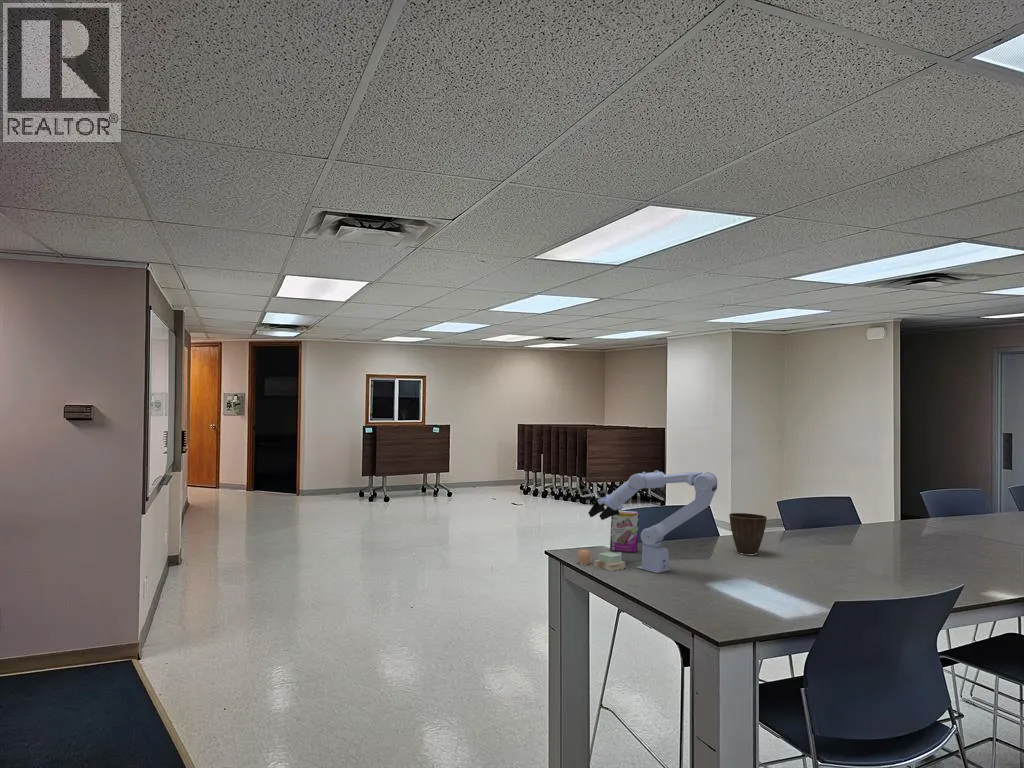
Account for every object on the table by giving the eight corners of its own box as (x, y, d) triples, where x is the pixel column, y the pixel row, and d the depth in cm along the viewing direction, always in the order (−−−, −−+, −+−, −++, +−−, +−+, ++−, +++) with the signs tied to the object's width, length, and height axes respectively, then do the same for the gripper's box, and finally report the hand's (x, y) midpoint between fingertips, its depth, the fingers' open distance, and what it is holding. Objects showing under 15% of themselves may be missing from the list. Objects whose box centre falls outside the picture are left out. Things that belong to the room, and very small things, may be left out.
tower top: (621, 561, 250) (621, 555, 250) (610, 563, 246) (611, 556, 247) (609, 558, 255) (609, 551, 255) (598, 560, 251) (598, 553, 251)
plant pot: (721, 552, 286) (722, 514, 286) (739, 548, 296) (740, 511, 296) (754, 559, 275) (755, 519, 275) (772, 555, 285) (773, 516, 285)
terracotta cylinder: (592, 564, 256) (593, 550, 256) (584, 565, 253) (584, 552, 253) (583, 561, 259) (584, 548, 260) (575, 563, 256) (575, 549, 256)
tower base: (625, 570, 250) (625, 561, 250) (611, 573, 245) (611, 564, 245) (608, 565, 256) (608, 557, 256) (594, 568, 251) (594, 560, 251)
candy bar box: (610, 551, 279) (611, 511, 280) (609, 549, 284) (611, 509, 285) (637, 553, 278) (639, 513, 279) (636, 550, 283) (637, 511, 284)
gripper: (625, 490, 266) (601, 510, 271) (605, 483, 256) (580, 505, 261) (634, 505, 262) (609, 525, 267) (614, 499, 252) (588, 520, 256)
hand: (595, 516), depth 263 cm, fingers open, 7 cm apart
